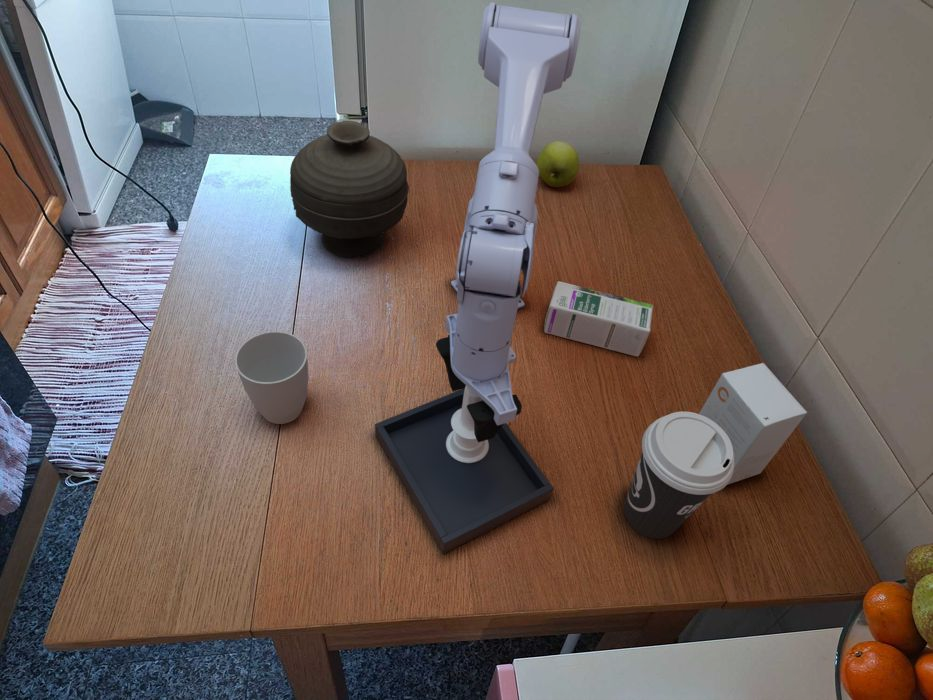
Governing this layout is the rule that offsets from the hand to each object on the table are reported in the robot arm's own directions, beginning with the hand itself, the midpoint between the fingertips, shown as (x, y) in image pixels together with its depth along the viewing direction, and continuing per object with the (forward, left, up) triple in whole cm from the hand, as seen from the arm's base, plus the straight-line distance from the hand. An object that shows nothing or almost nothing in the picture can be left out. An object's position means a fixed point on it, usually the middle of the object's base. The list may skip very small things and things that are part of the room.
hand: (471, 411), depth 75 cm
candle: (0, 0, -7) cm, 7 cm away
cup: (-16, -18, -8) cm, 25 cm away
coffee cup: (+18, +15, -8) cm, 25 cm away
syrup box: (-4, +32, -5) cm, 33 cm away
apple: (-44, +45, -8) cm, 63 cm away
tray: (+2, -2, -8) cm, 8 cm away
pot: (-44, +4, -8) cm, 45 cm away
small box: (+16, +29, -8) cm, 34 cm away
